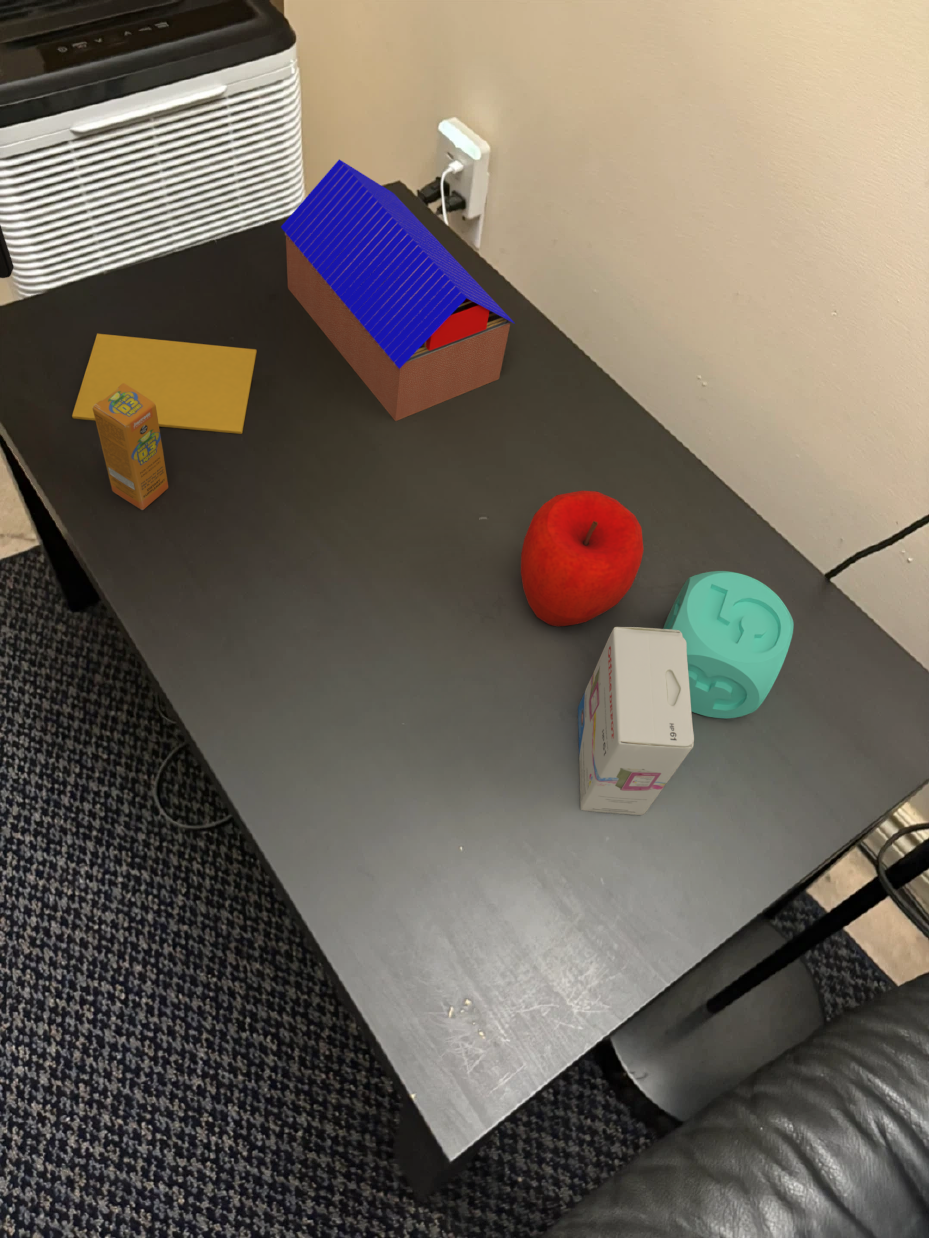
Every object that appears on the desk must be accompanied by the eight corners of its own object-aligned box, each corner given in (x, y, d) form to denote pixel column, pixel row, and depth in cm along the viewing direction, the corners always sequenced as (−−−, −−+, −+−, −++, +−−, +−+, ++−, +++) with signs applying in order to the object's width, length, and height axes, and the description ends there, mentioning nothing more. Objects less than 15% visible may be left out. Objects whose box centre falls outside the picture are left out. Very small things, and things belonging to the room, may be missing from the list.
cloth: (72, 418, 81) (71, 416, 81) (97, 336, 87) (97, 333, 86) (242, 434, 83) (241, 431, 82) (256, 352, 88) (256, 349, 88)
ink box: (573, 703, 73) (612, 621, 63) (638, 709, 73) (688, 628, 63) (576, 812, 68) (619, 741, 58) (646, 817, 69) (700, 748, 59)
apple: (567, 674, 74) (601, 597, 65) (483, 604, 76) (505, 520, 67) (636, 608, 78) (677, 526, 69) (554, 543, 81) (583, 456, 71)
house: (389, 252, 97) (396, 143, 88) (503, 380, 90) (526, 276, 80) (283, 287, 93) (278, 176, 83) (394, 425, 85) (403, 321, 75)
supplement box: (144, 514, 77) (122, 427, 69) (111, 493, 78) (86, 404, 69) (173, 489, 79) (156, 400, 70) (141, 468, 79) (119, 378, 71)
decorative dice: (667, 612, 78) (700, 554, 72) (761, 650, 77) (803, 596, 71) (639, 691, 74) (670, 637, 67) (738, 733, 73) (780, 683, 66)
